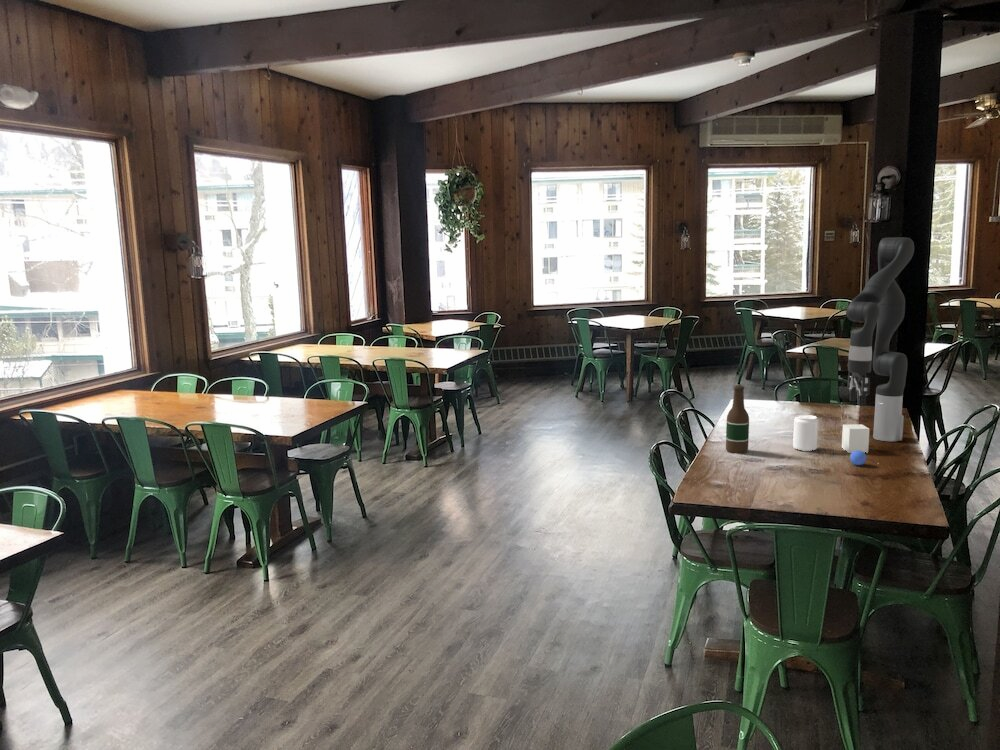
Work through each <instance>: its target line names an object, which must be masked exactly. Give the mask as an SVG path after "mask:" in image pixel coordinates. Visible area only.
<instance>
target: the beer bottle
mask: <svg viewBox="0 0 1000 750" xmlns="http://www.w3.org/2000/svg"><path fill="white" fill-rule="evenodd" d="M732 389H733V390H734V391H733V399H732V400H733V401H732V405H731V408H730V410H729V412H728V413H727V416H726V424H725V425H726V427H725V428H726V432H725V450H727V451H726V452H728V453H729V452H730V453H729V454H735V453H744V454H746V453H748V451H749V441H750V440H749V439H750V438H749V434H750V432H749V431H750V416H749V414H748V411H747V410H746V407H745V398H744V397H745V394H744V393H745V391H744V390H745V386H743V385H734V386H733V388H732Z"/></svg>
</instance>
